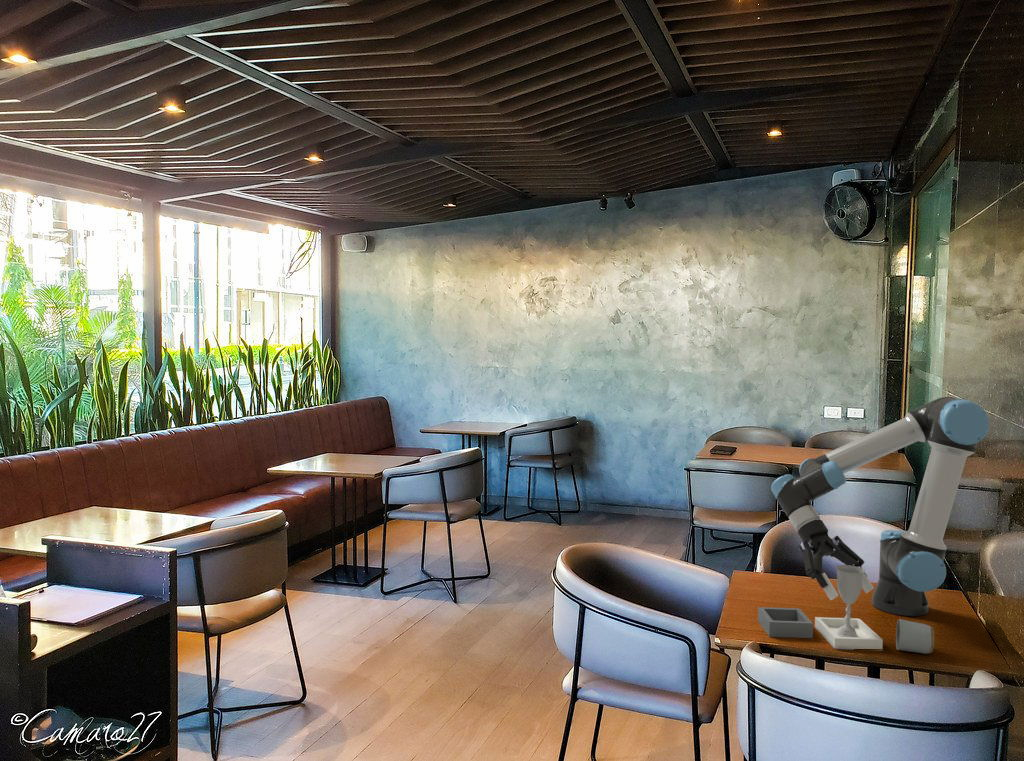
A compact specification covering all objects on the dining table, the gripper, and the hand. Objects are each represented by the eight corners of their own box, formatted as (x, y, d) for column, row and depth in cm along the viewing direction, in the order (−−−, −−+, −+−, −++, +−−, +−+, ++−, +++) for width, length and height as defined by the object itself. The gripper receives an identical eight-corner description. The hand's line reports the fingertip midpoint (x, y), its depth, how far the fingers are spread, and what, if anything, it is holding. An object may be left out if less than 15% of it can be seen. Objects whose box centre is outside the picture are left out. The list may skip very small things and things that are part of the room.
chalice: (867, 636, 202) (870, 570, 201) (853, 642, 198) (855, 575, 197) (842, 627, 208) (844, 563, 207) (827, 633, 204) (829, 567, 203)
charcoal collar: (799, 622, 214) (799, 608, 214) (812, 638, 203) (813, 623, 203) (757, 621, 215) (758, 607, 215) (769, 636, 203) (769, 621, 203)
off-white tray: (859, 628, 210) (859, 618, 210) (882, 650, 195) (882, 639, 195) (814, 627, 211) (815, 617, 211) (834, 648, 196) (834, 638, 196)
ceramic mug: (934, 659, 190) (935, 628, 190) (898, 654, 193) (899, 624, 193) (927, 644, 200) (928, 615, 200) (893, 639, 203) (894, 611, 203)
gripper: (831, 528, 222) (875, 594, 209) (768, 537, 211) (810, 607, 198) (847, 514, 217) (893, 580, 204) (784, 522, 206) (828, 593, 193)
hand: (852, 594), depth 201 cm, fingers open, 13 cm apart
